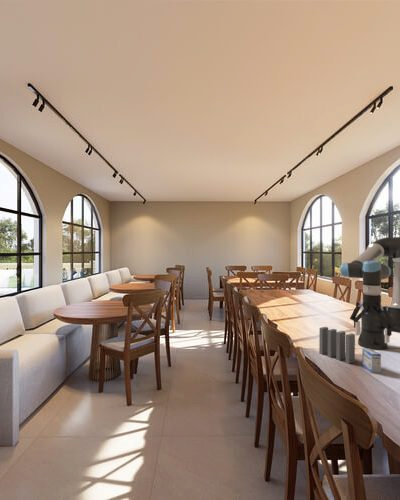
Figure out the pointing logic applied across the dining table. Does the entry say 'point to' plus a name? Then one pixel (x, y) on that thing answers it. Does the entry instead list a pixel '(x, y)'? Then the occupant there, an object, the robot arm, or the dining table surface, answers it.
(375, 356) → the medicine box
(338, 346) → the domino
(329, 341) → the domino
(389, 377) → the dining table surface
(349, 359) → the domino
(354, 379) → the dining table surface
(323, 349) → the domino
